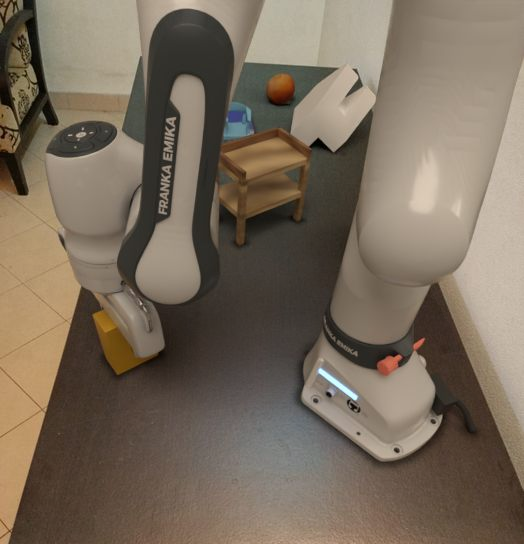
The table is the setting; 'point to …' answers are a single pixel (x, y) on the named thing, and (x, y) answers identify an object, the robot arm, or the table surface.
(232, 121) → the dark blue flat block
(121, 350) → the yellow block
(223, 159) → the rack
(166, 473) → the table surface
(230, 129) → the chair
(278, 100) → the fruit
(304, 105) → the slotted wedge
